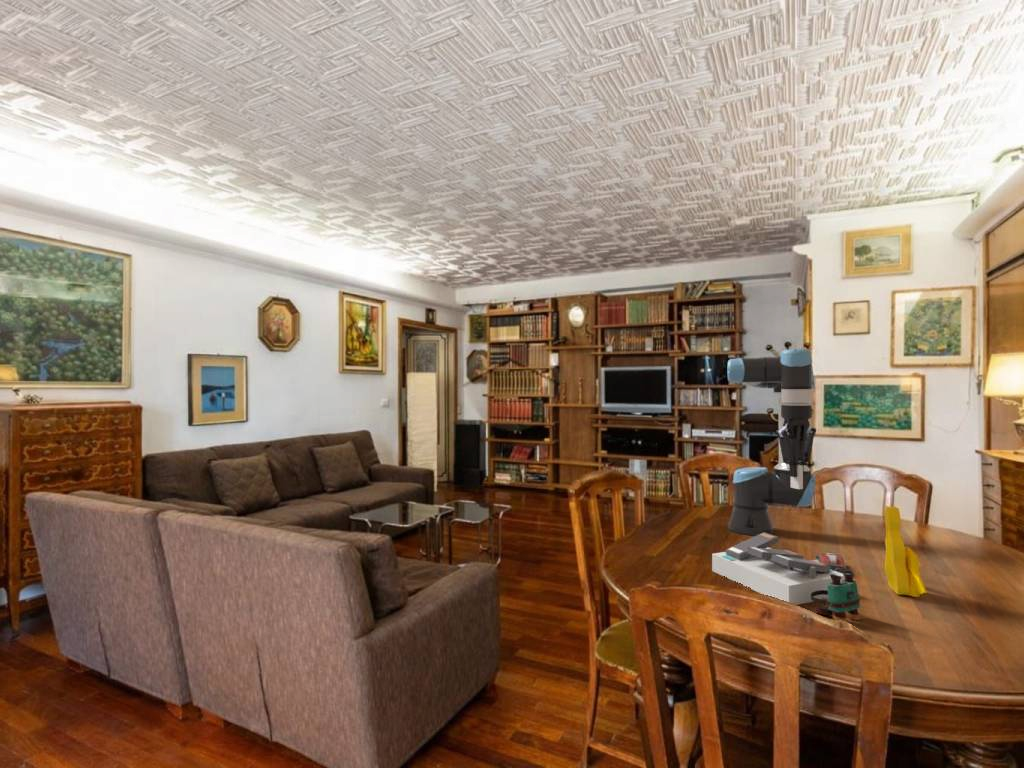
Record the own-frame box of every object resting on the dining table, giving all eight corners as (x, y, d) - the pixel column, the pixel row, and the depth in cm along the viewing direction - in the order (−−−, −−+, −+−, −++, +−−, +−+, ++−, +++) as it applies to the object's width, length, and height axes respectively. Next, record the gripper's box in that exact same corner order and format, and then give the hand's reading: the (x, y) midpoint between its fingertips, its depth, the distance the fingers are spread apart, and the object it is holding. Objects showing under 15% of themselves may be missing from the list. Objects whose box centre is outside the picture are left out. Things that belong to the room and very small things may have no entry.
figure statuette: (936, 608, 123) (935, 516, 124) (897, 603, 126) (896, 514, 126) (907, 582, 140) (906, 501, 140) (873, 578, 143) (872, 499, 143)
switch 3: (812, 566, 138) (813, 560, 138) (829, 573, 133) (830, 566, 133) (771, 560, 133) (772, 553, 133) (787, 566, 128) (788, 559, 128)
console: (764, 562, 156) (764, 536, 156) (846, 594, 132) (846, 564, 132) (712, 570, 149) (712, 544, 149) (788, 606, 125) (788, 574, 125)
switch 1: (764, 537, 153) (763, 531, 153) (778, 542, 148) (777, 536, 148) (726, 555, 148) (725, 549, 147) (739, 560, 143) (738, 554, 143)
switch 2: (787, 556, 145) (788, 549, 145) (802, 561, 140) (803, 555, 141) (746, 552, 140) (747, 546, 140) (761, 558, 135) (762, 551, 135)
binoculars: (823, 563, 127) (864, 572, 118) (828, 607, 126) (870, 619, 117) (798, 568, 123) (839, 577, 114) (802, 613, 122) (844, 627, 113)
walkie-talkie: (809, 560, 159) (813, 581, 142) (809, 545, 160) (813, 565, 142) (842, 564, 155) (850, 587, 138) (842, 549, 155) (850, 570, 138)
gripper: (801, 402, 149) (801, 483, 150) (767, 404, 145) (768, 487, 145) (825, 404, 142) (825, 488, 143) (790, 405, 138) (791, 493, 138)
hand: (796, 488), depth 144 cm, fingers closed
